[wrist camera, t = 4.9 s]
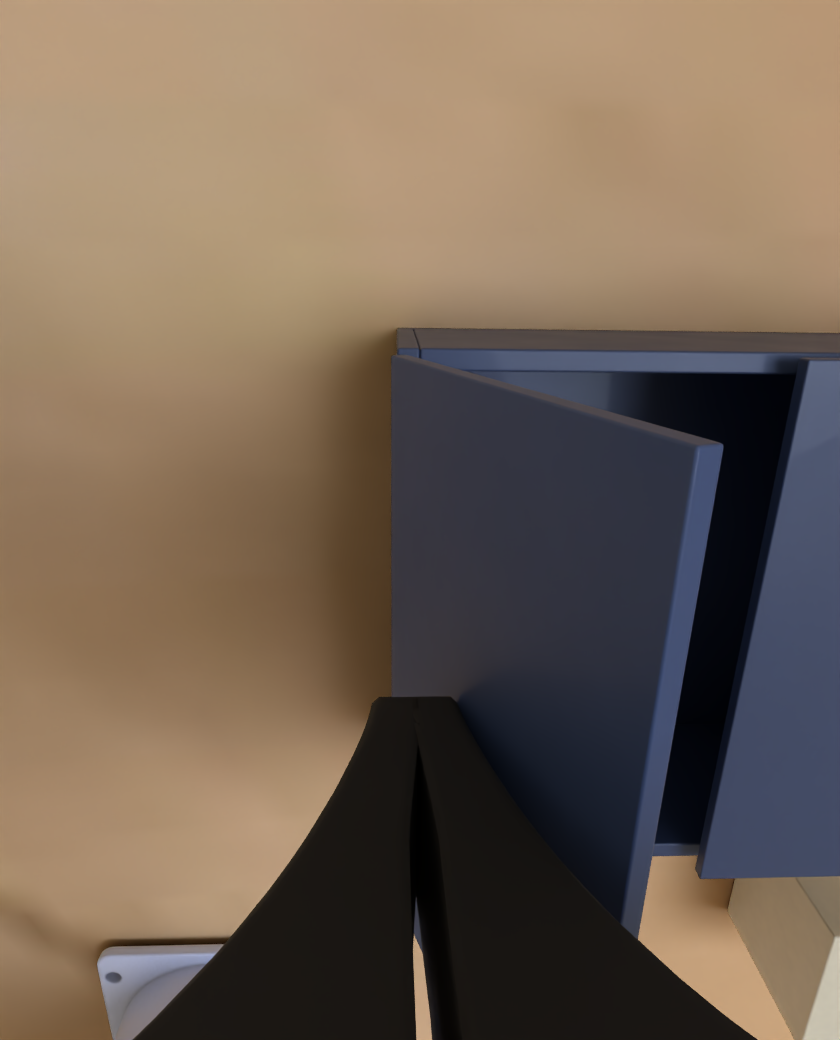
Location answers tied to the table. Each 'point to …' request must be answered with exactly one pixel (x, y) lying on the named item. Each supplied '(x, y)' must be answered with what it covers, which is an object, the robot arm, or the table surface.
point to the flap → (550, 601)
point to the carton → (728, 571)
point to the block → (794, 947)
